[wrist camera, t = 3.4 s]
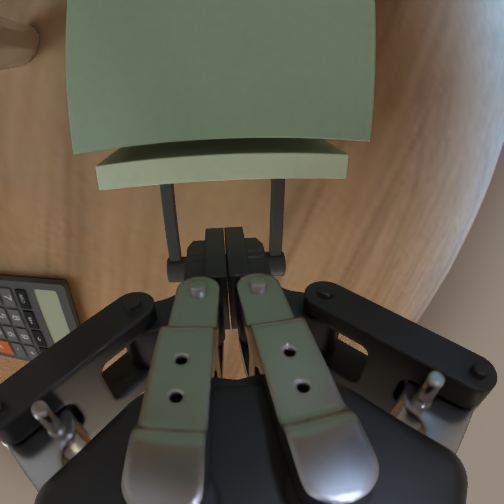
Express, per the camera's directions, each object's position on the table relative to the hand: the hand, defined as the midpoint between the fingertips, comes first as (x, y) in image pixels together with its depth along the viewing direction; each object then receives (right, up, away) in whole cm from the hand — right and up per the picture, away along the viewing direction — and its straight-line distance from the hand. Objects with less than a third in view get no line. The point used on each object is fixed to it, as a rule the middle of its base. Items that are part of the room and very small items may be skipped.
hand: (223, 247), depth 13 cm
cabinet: (-1, +15, +2) cm, 15 cm away
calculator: (-23, -7, +12) cm, 27 cm away
